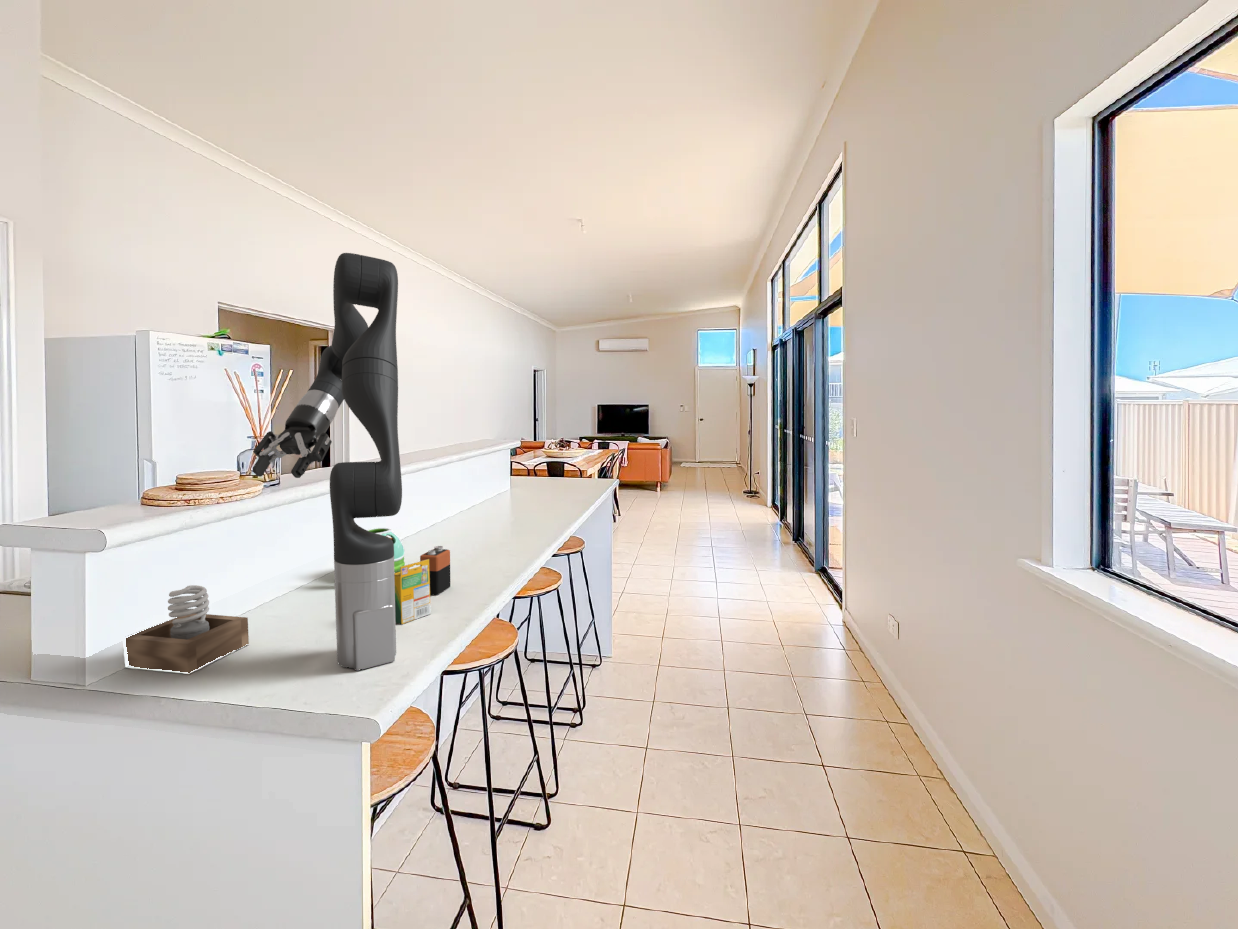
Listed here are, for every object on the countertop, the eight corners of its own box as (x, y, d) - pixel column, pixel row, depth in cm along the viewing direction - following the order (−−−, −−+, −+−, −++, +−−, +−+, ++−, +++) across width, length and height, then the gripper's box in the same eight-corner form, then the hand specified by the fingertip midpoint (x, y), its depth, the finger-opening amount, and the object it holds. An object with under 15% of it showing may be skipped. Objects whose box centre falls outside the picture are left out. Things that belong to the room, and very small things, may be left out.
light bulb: (205, 646, 104) (202, 579, 103) (216, 655, 100) (213, 586, 99) (166, 656, 99) (162, 586, 98) (176, 666, 96) (172, 593, 95)
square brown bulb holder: (248, 645, 105) (247, 617, 104) (188, 674, 93) (187, 644, 92) (190, 639, 107) (188, 612, 106) (124, 668, 95) (122, 638, 94)
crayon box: (421, 611, 123) (420, 556, 122) (431, 614, 121) (430, 558, 120) (391, 622, 117) (390, 564, 116) (401, 625, 115) (400, 566, 114)
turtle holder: (323, 588, 138) (321, 538, 136) (375, 568, 155) (373, 523, 154) (368, 593, 134) (366, 542, 133) (416, 572, 152) (415, 526, 150)
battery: (451, 587, 140) (450, 545, 139) (437, 596, 133) (437, 552, 132) (434, 586, 141) (433, 544, 140) (419, 594, 134) (419, 551, 133)
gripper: (273, 402, 125) (232, 461, 115) (334, 403, 123) (297, 463, 112) (292, 427, 131) (254, 485, 121) (351, 428, 128) (317, 487, 118)
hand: (275, 474), depth 117 cm, fingers open, 8 cm apart
